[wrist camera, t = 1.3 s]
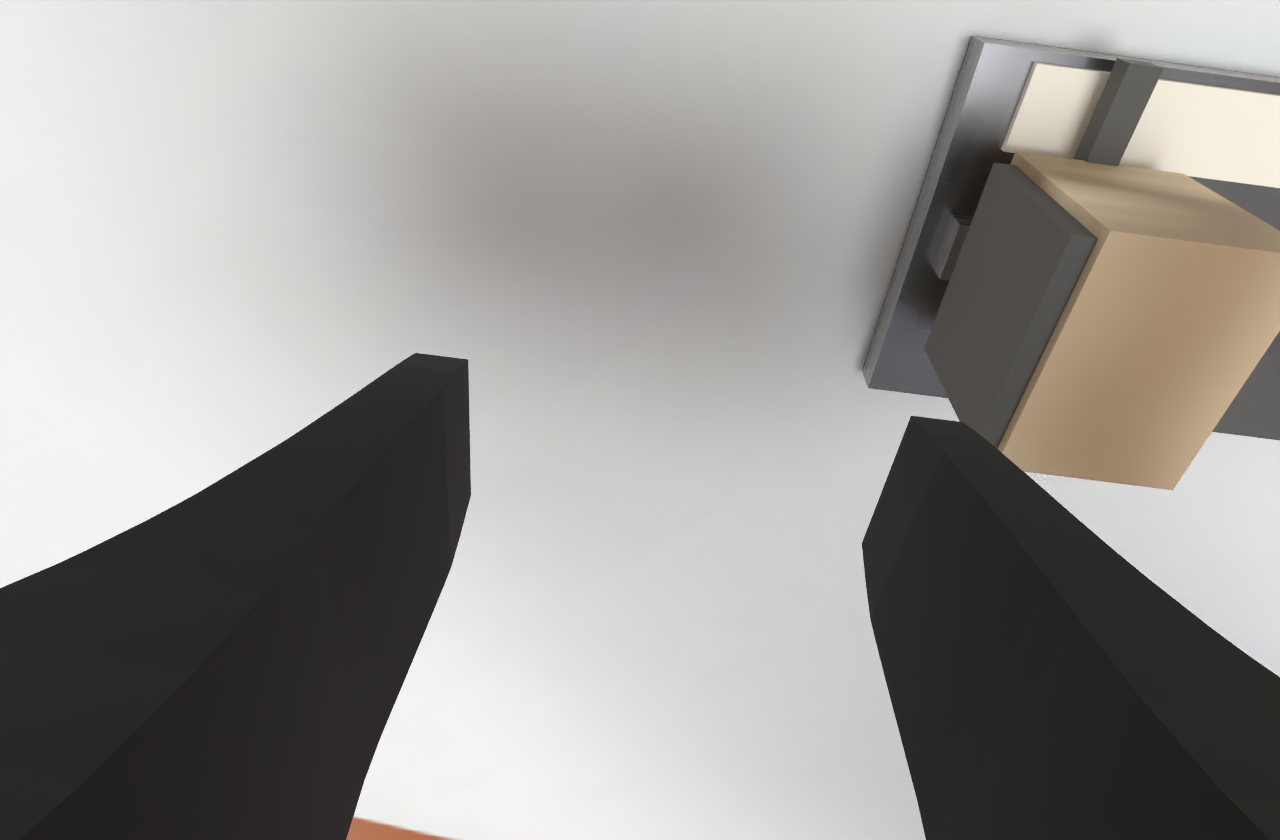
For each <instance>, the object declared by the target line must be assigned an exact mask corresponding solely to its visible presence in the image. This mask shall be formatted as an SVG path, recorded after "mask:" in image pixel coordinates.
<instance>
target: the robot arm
mask: <svg viewBox="0 0 1280 840" xmlns="http://www.w3.org/2000/svg"><path fill="white" fill-rule="evenodd" d="M470 496H471V481H470V431H469V381H468V360H466V359H458V358H451V357H443V356H435V355H427V354H419V353H415V354H413V355H412V356H410V357H408V358H407V359H405V360H404V361H402V362H400V363H399V364H397V365H396V366H395V367H393V368H392V369H390V370H389V371H387V372H386V373H384V374H383V375H381V376H380V377H379V378H377V379H376V380H374V381H373V382H371V383H370V384H369V385H367V386H366V387H364V388H363V389H361V390H360V391H358V392H357V393H356V394H354V395H353V396H351V397H350V398H348V399H347V400H345V401H344V402H343V403H341V404H340V405H338V406H337V407H335V408H334V409H332V410H331V411H329V412H328V413H326V414H325V415H323V416H322V417H320V418H319V419H317V420H316V421H314V422H313V423H311V424H310V425H308V426H307V427H305V428H304V429H302V430H301V431H299V432H298V433H296V434H295V435H293V436H292V437H290V438H289V439H287V440H285V441H284V442H282V443H281V444H279V445H277V446H276V447H274V448H272V449H271V450H269V451H267V452H266V453H264V454H262V455H261V456H259V457H257V458H256V459H254V460H252V461H251V462H249V463H247V464H246V465H244V466H242V467H241V468H239V469H237V470H236V471H234V472H232V473H231V474H229V475H227V476H226V477H224V478H222V479H221V480H219V481H217V482H216V483H214V484H212V485H211V486H209V487H207V488H206V489H204V490H202V491H201V492H199V493H197V494H195V495H193V496H192V497H190V498H188V499H186V500H184V501H183V502H181V503H179V504H177V505H175V506H173V507H171V508H170V509H168V510H166V511H164V512H162V513H160V514H158V515H156V516H154V517H153V518H151V519H149V520H147V521H145V522H143V523H141V524H139V525H137V526H135V527H133V528H131V529H129V530H127V531H125V532H123V533H121V534H119V535H117V536H115V537H113V538H111V539H109V540H106V541H104V542H102V543H100V544H98V545H96V546H94V547H92V548H90V549H88V550H86V551H84V552H82V553H80V554H78V555H76V556H73V557H71V558H69V559H67V560H65V561H63V562H61V563H58V564H56V565H54V566H52V567H49V568H47V569H45V570H42V571H40V572H38V573H35V574H33V575H30V576H28V577H26V578H23V579H21V580H19V581H16V582H14V583H12V584H9V585H7V586H5V587H2V588H0V840H346V838H347V835H348V831H349V828H350V824H351V821H352V818H353V815H354V812H355V809H356V806H357V802H358V799H359V796H360V793H361V789H362V786H363V783H364V780H365V777H366V775H367V772H368V769H369V766H370V764H371V761H372V758H373V756H374V753H375V750H376V748H377V745H378V742H379V739H380V737H381V735H382V732H383V730H384V727H385V725H386V723H387V720H388V718H389V716H390V713H391V711H392V708H393V706H394V704H395V701H396V699H397V696H398V694H399V692H400V689H401V687H402V685H403V682H404V680H405V677H406V675H407V673H408V670H409V668H410V665H411V663H412V661H413V658H414V656H415V654H416V651H417V649H418V646H419V644H420V642H421V639H422V637H423V635H424V632H425V630H426V627H427V625H428V623H429V620H430V618H431V615H432V613H433V610H434V608H435V606H436V603H437V601H438V598H439V596H440V593H441V591H442V589H443V586H444V584H445V581H446V579H447V576H448V574H449V571H450V569H451V566H452V562H453V559H454V555H455V552H456V548H457V545H458V541H459V538H460V534H461V530H462V526H463V523H464V519H465V515H466V511H467V508H468V504H469V500H470ZM862 549H863V559H864V569H865V579H866V588H867V595H868V603H869V611H870V618H871V623H872V627H873V631H874V635H875V639H876V643H877V647H878V651H879V655H880V659H881V663H882V667H883V671H884V675H885V679H886V683H887V687H888V690H889V694H890V698H891V702H892V706H893V709H894V713H895V717H896V721H897V725H898V728H899V732H900V736H901V740H902V744H903V747H904V751H905V755H906V759H907V763H908V766H909V770H910V774H911V778H912V782H913V785H914V789H915V793H916V797H917V801H918V805H919V810H920V814H921V819H922V823H923V828H924V832H925V837H926V840H1280V677H1278V676H1277V675H1275V674H1274V673H1273V672H1271V671H1270V670H1268V669H1267V668H1265V667H1264V666H1263V665H1261V664H1260V663H1258V662H1257V661H1255V660H1254V659H1252V658H1251V657H1250V656H1248V655H1247V654H1245V653H1244V652H1243V651H1241V650H1240V649H1239V648H1237V647H1236V646H1235V645H1233V644H1232V643H1231V642H1229V641H1228V640H1227V639H1225V638H1224V637H1222V636H1221V635H1220V634H1218V633H1217V632H1216V631H1214V630H1213V629H1212V628H1210V627H1209V626H1208V625H1206V624H1205V623H1204V622H1203V621H1201V620H1200V619H1199V618H1198V617H1196V616H1195V615H1194V614H1192V613H1191V612H1190V611H1189V610H1187V609H1186V608H1185V607H1184V606H1182V605H1181V604H1180V603H1179V602H1177V601H1176V600H1175V599H1173V598H1172V597H1171V596H1170V595H1168V594H1167V593H1166V592H1165V591H1163V590H1162V589H1161V588H1159V587H1158V586H1157V585H1156V584H1154V583H1153V582H1152V581H1151V580H1149V579H1148V578H1147V577H1146V576H1144V575H1143V574H1142V573H1141V572H1140V571H1138V570H1137V569H1136V568H1135V567H1133V566H1132V565H1131V564H1130V563H1129V562H1127V561H1126V560H1125V559H1124V558H1123V557H1121V556H1120V555H1119V554H1118V553H1117V552H1115V551H1114V550H1113V549H1112V548H1111V547H1109V546H1108V545H1107V544H1106V543H1105V542H1104V541H1102V540H1101V539H1100V538H1099V537H1098V536H1097V535H1095V534H1094V533H1093V532H1092V531H1091V530H1090V529H1088V528H1087V527H1086V526H1085V525H1084V524H1083V523H1081V522H1080V521H1079V520H1078V519H1077V518H1076V517H1075V516H1073V515H1072V514H1071V513H1070V512H1069V511H1068V510H1067V509H1065V508H1064V507H1063V506H1062V505H1061V504H1060V503H1059V502H1057V501H1056V500H1055V499H1054V498H1053V497H1052V496H1051V495H1049V494H1048V493H1047V492H1046V491H1045V490H1044V489H1043V488H1041V487H1040V486H1039V485H1038V484H1037V483H1036V482H1035V481H1034V480H1032V479H1031V478H1030V477H1029V476H1028V475H1027V474H1026V473H1024V472H1023V471H1022V470H1021V469H1020V468H1019V467H1018V466H1016V465H1015V464H1014V463H1013V462H1012V461H1011V460H1010V459H1008V458H1007V457H1006V456H1005V455H1004V454H1003V453H1001V452H1000V451H999V450H998V449H997V448H996V447H994V446H993V445H992V444H991V443H990V442H988V441H987V440H986V439H985V438H983V437H982V436H981V435H980V434H978V433H977V432H976V431H974V430H973V429H972V428H970V427H969V426H968V425H966V424H965V423H963V422H956V421H948V420H940V419H932V418H924V417H917V416H911V418H910V420H909V423H908V426H907V428H906V431H905V433H904V436H903V439H902V441H901V444H900V446H899V449H898V451H897V454H896V457H895V459H894V462H893V464H892V467H891V470H890V472H889V475H888V477H887V480H886V483H885V485H884V488H883V490H882V493H881V496H880V498H879V501H878V503H877V506H876V508H875V511H874V514H873V516H872V519H871V521H870V524H869V527H868V529H867V532H866V534H865V537H864V540H863V542H862Z"/></svg>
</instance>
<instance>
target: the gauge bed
mask: <svg viewBox="0 0 1280 840" xmlns="http://www.w3.org/2000/svg"><path fill="white" fill-rule="evenodd" d="M1117 58H1121V59H1128V60H1135V61H1143V62H1150V63H1153V64H1155V65H1158V66H1160V67H1163V68H1164V69H1163V71H1162V73H1161V75H1160V78H1159V80H1158V82H1157V84H1156V86H1155V88H1154V90H1153V92H1152V95H1151V97H1150V99H1149V101H1148V103H1147V105H1146V107H1145V110H1144V112H1143V114H1142V116H1141V118H1140V120H1139V122H1138V124H1137V127H1136V129H1135V131H1134V133H1133V135H1132V137H1131V139H1130V142H1129V144H1128V146H1127V148H1126V150H1125V152H1124V154H1123V157H1122V159H1121V161H1120V163H1119V165H1122V166H1130V167H1137V168H1145V169H1152V170H1160V171H1167V172H1175V173H1182V174H1185V175H1187V176H1188V177H1190V178H1192V179H1194V180H1195V181H1197V182H1199V183H1200V184H1202V185H1204V186H1205V187H1207V188H1209V189H1210V190H1212V191H1214V192H1215V193H1217V194H1219V195H1220V196H1222V197H1224V198H1225V199H1227V200H1229V201H1231V202H1232V203H1234V204H1236V205H1237V206H1239V207H1241V208H1242V209H1244V210H1246V211H1247V212H1249V213H1251V214H1252V215H1254V216H1256V217H1257V218H1259V219H1261V220H1263V221H1264V222H1266V223H1268V224H1269V225H1271V226H1273V227H1274V228H1276V229H1278V230H1279V231H1280V77H1273V76H1265V75H1258V74H1250V73H1243V72H1236V71H1228V70H1221V69H1213V68H1206V67H1199V66H1191V65H1184V64H1176V63H1169V62H1162V61H1154V60H1147V59H1139V58H1132V57H1125V56H1117V55H1110V54H1102V53H1095V52H1088V51H1080V50H1073V49H1065V48H1058V47H1050V46H1043V45H1036V44H1028V43H1021V42H1013V41H1006V40H999V39H991V38H984V37H976V36H972V37H971V40H970V43H969V46H968V49H967V53H966V56H965V59H964V62H963V65H962V68H961V71H960V74H959V77H958V80H957V83H956V86H955V89H954V92H953V95H952V98H951V101H950V104H949V107H948V110H947V114H946V117H945V120H944V123H943V126H942V129H941V132H940V135H939V138H938V141H937V144H936V147H935V150H934V153H933V156H932V159H931V162H930V165H929V168H928V172H927V175H926V178H925V181H924V184H923V187H922V190H921V193H920V196H919V199H918V202H917V205H916V208H915V211H914V214H913V217H912V220H911V223H910V226H909V230H908V233H907V236H906V239H905V242H904V245H903V248H902V251H901V254H900V257H899V260H898V263H897V266H896V269H895V272H894V275H893V278H892V281H891V284H890V288H889V291H888V294H887V297H886V300H885V303H884V306H883V309H882V312H881V315H880V318H879V321H878V324H877V327H876V330H875V333H874V336H873V339H872V342H871V346H870V349H869V352H868V355H867V358H866V361H865V364H864V367H863V370H862V371H863V374H864V377H865V380H866V383H867V386H868V388H873V389H881V390H889V391H897V392H904V393H912V394H920V395H928V396H936V397H944V398H948V396H947V394H946V392H945V390H944V388H943V386H942V384H941V382H940V380H939V378H938V376H937V374H936V372H935V370H934V368H933V366H932V364H931V362H930V360H929V358H928V356H927V354H926V352H925V350H924V347H925V345H926V342H927V339H928V337H929V334H930V331H931V329H932V326H933V323H934V321H935V318H936V315H937V313H938V310H939V307H940V305H941V302H942V299H943V297H944V294H945V291H946V289H947V286H948V283H949V281H950V278H951V275H952V273H953V270H954V267H955V265H956V262H957V259H958V257H959V254H960V251H961V249H962V246H963V243H964V241H965V238H966V235H967V233H968V230H969V227H970V225H971V222H972V219H973V217H974V214H975V211H976V209H977V206H978V203H979V201H980V198H981V195H982V193H983V190H984V187H985V185H986V182H987V179H988V177H989V174H990V171H991V169H992V166H993V163H1001V164H1009V165H1010V164H1011V162H1012V159H1013V157H1014V154H1015V151H1017V152H1024V153H1032V154H1039V155H1047V156H1054V157H1062V158H1069V159H1073V158H1074V156H1075V154H1076V152H1077V149H1078V147H1079V145H1080V142H1081V140H1082V138H1083V135H1084V133H1085V131H1086V128H1087V126H1088V124H1089V121H1090V119H1091V117H1092V115H1093V112H1094V110H1095V108H1096V105H1097V103H1098V101H1099V98H1100V96H1101V94H1102V91H1103V89H1104V87H1105V85H1106V82H1107V80H1108V78H1109V75H1110V73H1111V71H1112V68H1113V66H1114V64H1115V61H1116V59H1117ZM1212 432H1219V433H1227V434H1235V435H1243V436H1251V437H1258V438H1266V439H1274V440H1280V331H1279V333H1278V334H1277V336H1276V337H1275V338H1274V340H1273V341H1272V343H1271V344H1270V346H1269V347H1268V349H1267V350H1266V352H1265V353H1264V355H1263V356H1262V358H1261V359H1260V361H1259V362H1258V364H1257V365H1256V367H1255V368H1254V370H1253V371H1252V373H1251V374H1250V376H1249V377H1248V379H1247V380H1246V382H1245V383H1244V385H1243V386H1242V388H1241V389H1240V391H1239V392H1238V394H1237V395H1236V397H1235V398H1234V399H1233V401H1232V402H1231V404H1230V405H1229V407H1228V408H1227V410H1226V411H1225V413H1224V414H1223V416H1222V417H1221V419H1220V420H1219V422H1218V423H1217V425H1216V426H1215V428H1214V429H1213V431H1212Z"/></svg>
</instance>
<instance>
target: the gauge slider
mask: <svg viewBox="0 0 1280 840" xmlns="http://www.w3.org/2000/svg"><path fill="white" fill-rule="evenodd" d="M1163 69H1164V68H1163V67H1160V66H1158V65H1155V64H1153V63H1150V62H1143V61H1135V60H1128V59H1121V58H1117V59H1116V61H1115V64H1114V66H1113V68H1112V71H1111V73H1110V75H1109V78H1108V80H1107V82H1106V85H1105V87H1104V89H1103V91H1102V94H1101V96H1100V98H1099V101H1098V103H1097V105H1096V108H1095V110H1094V112H1093V115H1092V117H1091V119H1090V121H1089V124H1088V126H1087V128H1086V131H1085V133H1084V135H1083V138H1082V140H1081V142H1080V145H1079V147H1078V149H1077V152H1076V154H1075V156H1074V158H1073V159H1069V158H1062V157H1054V156H1047V155H1039V154H1032V153H1024V152H1017V151H1015V154H1014V157H1013V159H1012V162H1011V164H1010V165H1009V164H1001V163H993V166H992V169H991V171H990V174H989V177H988V179H987V182H986V185H985V187H984V190H983V193H982V195H981V198H980V201H979V203H978V206H977V209H976V211H975V214H974V217H973V219H972V222H971V225H970V227H969V230H968V233H967V235H966V238H965V241H964V243H963V246H962V249H961V251H960V254H959V257H958V259H957V262H956V265H955V267H954V270H953V273H952V275H951V278H950V281H949V283H948V286H947V289H946V291H945V294H944V297H943V299H942V302H941V305H940V307H939V310H938V313H937V315H936V318H935V321H934V323H933V326H932V329H931V331H930V334H929V337H928V339H927V342H926V345H925V347H924V350H925V352H926V354H927V356H928V358H929V360H930V362H931V364H932V366H933V368H934V370H935V372H936V374H937V376H938V378H939V380H940V382H941V384H942V386H943V388H944V390H945V392H946V394H947V396H948V398H949V400H950V402H951V404H952V406H953V408H954V410H955V412H956V415H957V417H958V419H959V421H960V422H963V423H965V424H966V425H968V426H969V427H970V428H972V429H973V430H974V431H976V432H977V433H978V434H980V435H981V436H982V437H983V438H985V439H986V440H987V441H988V442H990V443H991V444H992V445H993V446H994V447H996V448H997V449H998V450H999V451H1000V452H1001V453H1003V454H1004V455H1005V456H1006V457H1007V458H1008V459H1010V460H1011V461H1012V462H1013V463H1014V464H1015V465H1016V466H1018V467H1019V468H1020V469H1021V470H1022V471H1025V472H1033V473H1041V474H1049V475H1057V476H1065V477H1073V478H1081V479H1089V480H1097V481H1105V482H1113V483H1120V484H1128V485H1136V486H1144V487H1152V488H1160V489H1168V490H1173V489H1174V487H1175V486H1176V484H1177V483H1178V481H1179V480H1180V478H1181V477H1182V475H1183V474H1184V472H1185V471H1186V469H1187V468H1188V466H1189V465H1190V463H1191V462H1192V460H1193V459H1194V457H1195V456H1196V455H1197V453H1198V452H1199V450H1200V449H1201V447H1202V446H1203V444H1204V443H1205V441H1206V440H1207V438H1208V437H1209V435H1210V434H1211V432H1212V431H1213V429H1214V428H1215V426H1216V425H1217V423H1218V422H1219V420H1220V419H1221V417H1222V416H1223V414H1224V413H1225V411H1226V410H1227V408H1228V407H1229V405H1230V404H1231V402H1232V401H1233V399H1234V398H1235V397H1236V395H1237V394H1238V392H1239V391H1240V389H1241V388H1242V386H1243V385H1244V383H1245V382H1246V380H1247V379H1248V377H1249V376H1250V374H1251V373H1252V371H1253V370H1254V368H1255V367H1256V365H1257V364H1258V362H1259V361H1260V359H1261V358H1262V356H1263V355H1264V353H1265V352H1266V350H1267V349H1268V347H1269V346H1270V344H1271V343H1272V341H1273V340H1274V338H1275V337H1276V336H1277V334H1278V333H1279V331H1280V231H1279V230H1278V229H1276V228H1274V227H1273V226H1271V225H1269V224H1268V223H1266V222H1264V221H1263V220H1261V219H1259V218H1257V217H1256V216H1254V215H1252V214H1251V213H1249V212H1247V211H1246V210H1244V209H1242V208H1241V207H1239V206H1237V205H1236V204H1234V203H1232V202H1231V201H1229V200H1227V199H1225V198H1224V197H1222V196H1220V195H1219V194H1217V193H1215V192H1214V191H1212V190H1210V189H1209V188H1207V187H1205V186H1204V185H1202V184H1200V183H1199V182H1197V181H1195V180H1194V179H1192V178H1190V177H1188V176H1187V175H1185V174H1182V173H1175V172H1167V171H1160V170H1152V169H1145V168H1137V167H1130V166H1122V165H1119V163H1120V161H1121V159H1122V157H1123V154H1124V152H1125V150H1126V148H1127V146H1128V144H1129V142H1130V139H1131V137H1132V135H1133V133H1134V131H1135V129H1136V127H1137V124H1138V122H1139V120H1140V118H1141V116H1142V114H1143V112H1144V110H1145V107H1146V105H1147V103H1148V101H1149V99H1150V97H1151V95H1152V92H1153V90H1154V88H1155V86H1156V84H1157V82H1158V80H1159V78H1160V75H1161V73H1162V71H1163Z"/></svg>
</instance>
